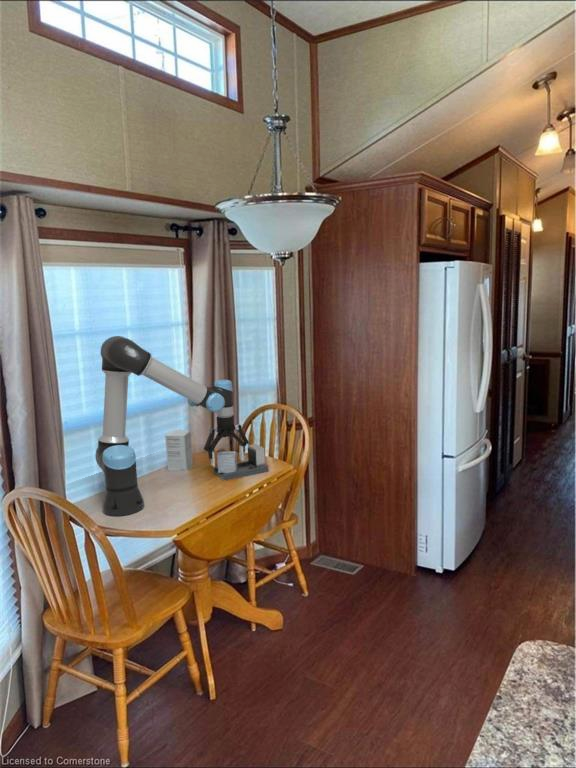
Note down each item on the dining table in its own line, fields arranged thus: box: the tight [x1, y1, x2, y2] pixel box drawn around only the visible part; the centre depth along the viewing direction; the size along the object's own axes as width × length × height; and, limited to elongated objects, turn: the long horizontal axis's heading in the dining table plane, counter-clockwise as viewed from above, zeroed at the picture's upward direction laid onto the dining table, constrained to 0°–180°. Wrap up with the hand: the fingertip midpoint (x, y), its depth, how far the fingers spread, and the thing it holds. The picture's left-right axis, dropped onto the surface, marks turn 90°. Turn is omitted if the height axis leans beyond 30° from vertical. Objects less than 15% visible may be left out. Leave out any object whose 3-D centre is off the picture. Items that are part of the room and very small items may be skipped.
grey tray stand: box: [213, 443, 269, 481], centre depth 251 cm, size 21×12×10 cm, turn 119°
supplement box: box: [164, 429, 194, 472], centre depth 261 cm, size 10×9×17 cm
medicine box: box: [216, 450, 238, 473], centre depth 248 cm, size 8×4×9 cm, turn 84°
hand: (227, 462), depth 248 cm, fingers open, 13 cm apart
